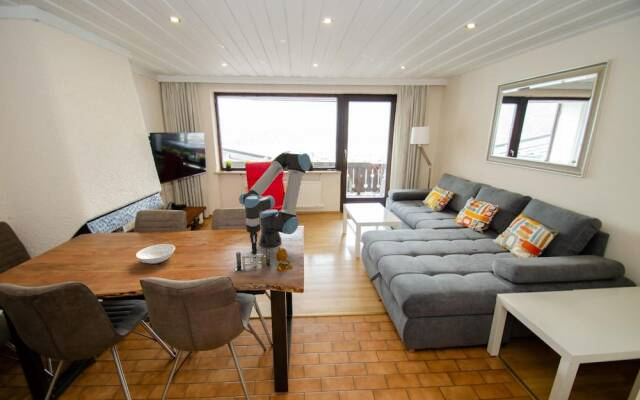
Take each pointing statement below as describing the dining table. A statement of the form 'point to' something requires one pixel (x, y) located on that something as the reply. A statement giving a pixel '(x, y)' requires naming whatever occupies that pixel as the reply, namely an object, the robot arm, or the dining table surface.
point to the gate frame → (263, 262)
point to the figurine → (282, 260)
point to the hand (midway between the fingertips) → (254, 262)
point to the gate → (250, 259)
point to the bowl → (155, 253)
